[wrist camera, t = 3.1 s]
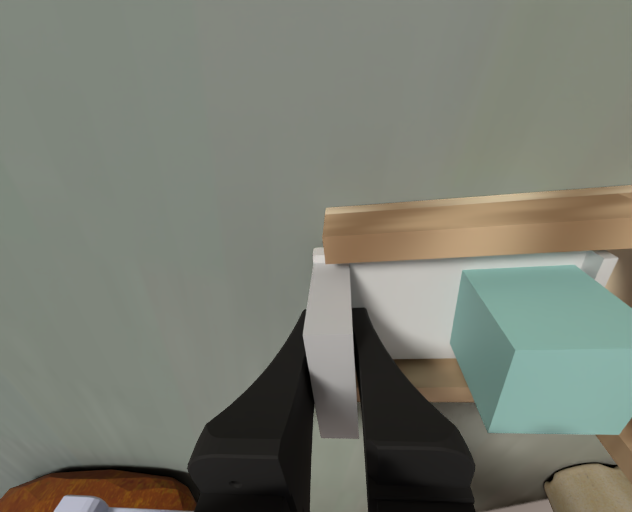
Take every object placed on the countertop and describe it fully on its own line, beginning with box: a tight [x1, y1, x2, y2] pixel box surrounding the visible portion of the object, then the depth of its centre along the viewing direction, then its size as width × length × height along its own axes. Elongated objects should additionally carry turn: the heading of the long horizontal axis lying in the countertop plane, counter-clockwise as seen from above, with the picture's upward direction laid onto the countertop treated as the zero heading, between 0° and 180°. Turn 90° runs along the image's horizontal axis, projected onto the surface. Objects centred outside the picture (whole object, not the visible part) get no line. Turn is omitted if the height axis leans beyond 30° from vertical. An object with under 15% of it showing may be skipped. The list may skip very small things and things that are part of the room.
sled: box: [303, 247, 618, 439], centre depth 12 cm, size 12×7×5 cm, turn 96°
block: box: [450, 265, 632, 435], centre depth 12 cm, size 4×4×4 cm
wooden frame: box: [323, 185, 632, 484], centre depth 11 cm, size 18×10×8 cm, turn 96°
